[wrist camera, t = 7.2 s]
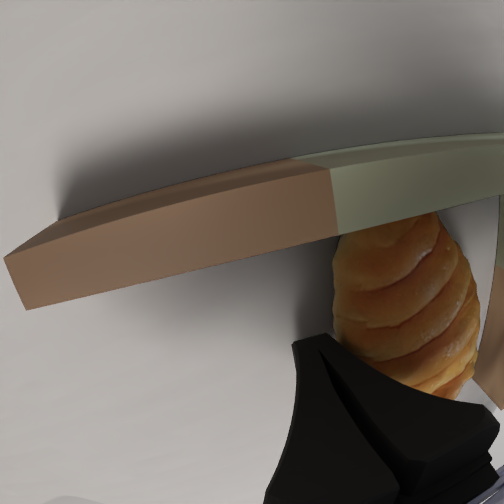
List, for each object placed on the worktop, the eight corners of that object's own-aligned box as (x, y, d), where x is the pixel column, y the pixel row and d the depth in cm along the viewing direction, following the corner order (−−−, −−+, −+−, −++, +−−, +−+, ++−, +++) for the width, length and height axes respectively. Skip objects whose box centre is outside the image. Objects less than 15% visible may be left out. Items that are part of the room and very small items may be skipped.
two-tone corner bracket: (486, 367, 16) (516, 399, 12) (186, 469, 15) (187, 520, 11) (513, 132, 10) (569, 141, 7) (57, 221, 9) (3, 258, 6)
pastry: (274, 244, 11) (307, 296, 7) (425, 158, 11) (497, 173, 7) (355, 397, 14) (386, 453, 11) (460, 327, 14) (504, 366, 10)
